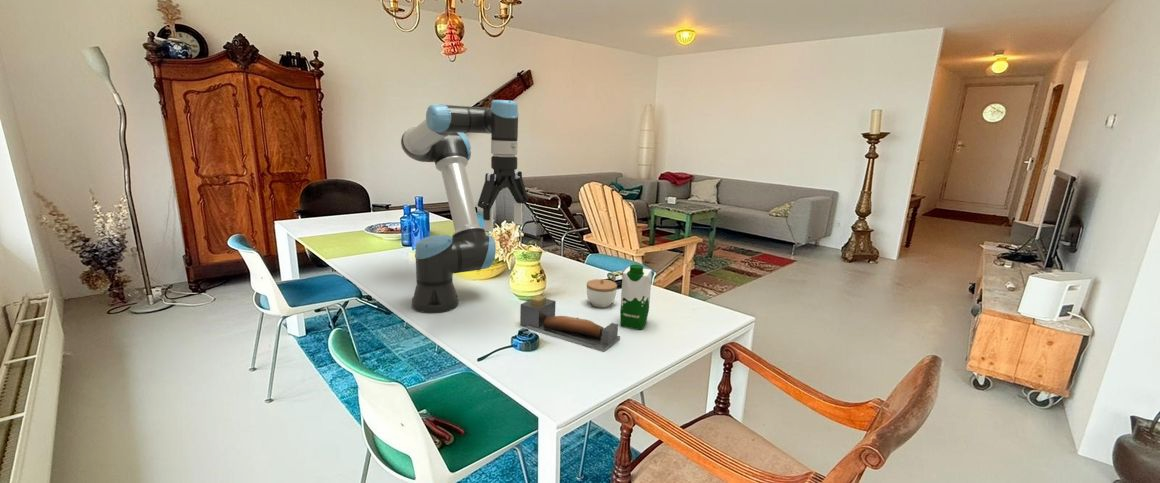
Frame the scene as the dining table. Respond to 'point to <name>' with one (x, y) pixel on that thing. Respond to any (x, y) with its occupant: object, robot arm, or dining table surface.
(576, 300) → the dining table surface
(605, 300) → the lidded jar
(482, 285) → the dining table surface
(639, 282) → the milk carton
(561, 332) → the motor mount
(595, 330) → the sunglasses case
